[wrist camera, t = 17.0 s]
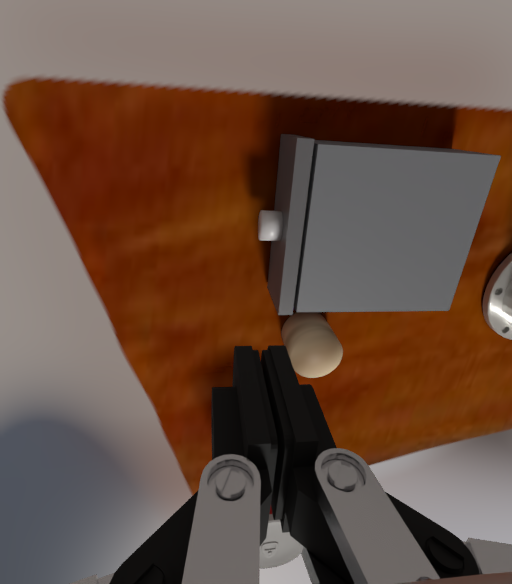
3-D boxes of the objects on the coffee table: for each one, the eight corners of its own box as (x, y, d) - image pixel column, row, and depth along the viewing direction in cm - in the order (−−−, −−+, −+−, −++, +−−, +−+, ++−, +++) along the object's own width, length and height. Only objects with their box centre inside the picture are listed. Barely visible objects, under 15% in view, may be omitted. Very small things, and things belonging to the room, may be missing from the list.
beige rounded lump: (334, 337, 39) (349, 363, 35) (292, 358, 40) (303, 385, 36) (317, 302, 37) (332, 325, 33) (273, 324, 37) (282, 349, 33)
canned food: (234, 481, 47) (244, 577, 37) (216, 440, 43) (222, 535, 34) (291, 464, 47) (316, 556, 37) (278, 421, 44) (301, 511, 34)
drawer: (443, 144, 31) (488, 150, 27) (405, 287, 37) (436, 313, 32) (261, 132, 29) (273, 136, 24) (250, 287, 35) (259, 315, 30)
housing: (452, 148, 32) (500, 155, 27) (414, 283, 38) (448, 310, 32) (297, 138, 30) (318, 144, 25) (282, 283, 35) (296, 312, 30)
